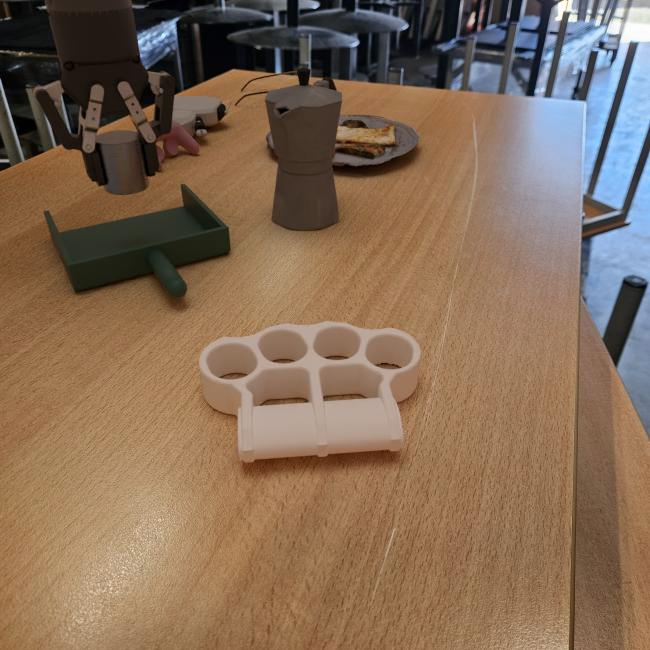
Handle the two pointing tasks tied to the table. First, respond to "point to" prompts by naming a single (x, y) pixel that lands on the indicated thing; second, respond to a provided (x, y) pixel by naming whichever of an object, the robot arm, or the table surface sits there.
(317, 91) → the coffeepot
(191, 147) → the pink curved piece
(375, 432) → the white brass knuckles
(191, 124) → the robot toy
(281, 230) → the table surface
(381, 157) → the food plate
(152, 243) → the scoop
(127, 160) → the metal canister
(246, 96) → the sunglasses
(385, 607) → the table surface
